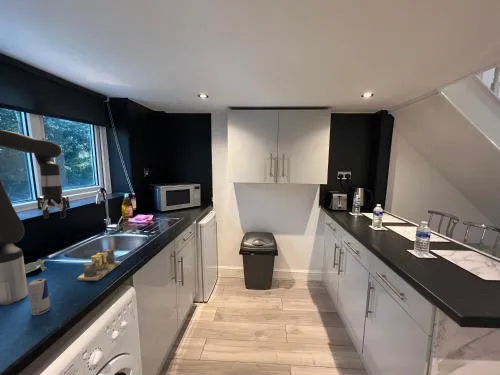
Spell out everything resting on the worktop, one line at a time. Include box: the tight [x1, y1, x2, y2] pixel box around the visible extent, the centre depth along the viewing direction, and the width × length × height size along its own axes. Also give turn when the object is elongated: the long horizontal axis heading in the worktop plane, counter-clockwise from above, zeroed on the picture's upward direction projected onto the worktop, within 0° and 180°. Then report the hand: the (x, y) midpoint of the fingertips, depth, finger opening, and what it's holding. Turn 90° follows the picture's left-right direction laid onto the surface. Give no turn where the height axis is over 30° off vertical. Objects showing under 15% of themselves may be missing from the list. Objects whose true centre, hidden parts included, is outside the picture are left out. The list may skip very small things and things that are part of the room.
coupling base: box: [77, 248, 121, 281], centre depth 122 cm, size 18×10×8 cm, turn 177°
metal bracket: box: [24, 259, 47, 274], centre depth 123 cm, size 14×6×15 cm
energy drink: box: [27, 277, 51, 316], centre depth 90 cm, size 5×5×12 cm
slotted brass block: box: [90, 252, 106, 266], centre depth 121 cm, size 5×4×5 cm
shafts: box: [85, 248, 112, 269], centre depth 121 cm, size 17×2×4 cm, turn 177°
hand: (55, 218), depth 116 cm, fingers open, 8 cm apart
